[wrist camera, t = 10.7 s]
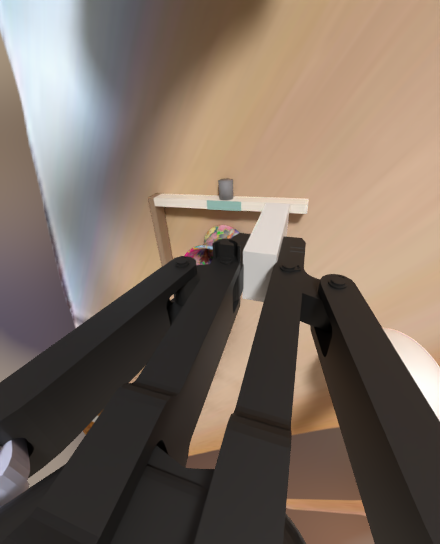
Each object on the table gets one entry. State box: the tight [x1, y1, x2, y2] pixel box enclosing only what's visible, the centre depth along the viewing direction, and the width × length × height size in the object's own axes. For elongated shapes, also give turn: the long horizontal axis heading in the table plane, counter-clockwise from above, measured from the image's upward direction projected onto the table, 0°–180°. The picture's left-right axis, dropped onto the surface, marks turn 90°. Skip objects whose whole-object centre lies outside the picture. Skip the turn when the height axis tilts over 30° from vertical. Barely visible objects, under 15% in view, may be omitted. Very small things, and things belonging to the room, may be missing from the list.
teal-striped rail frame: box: [148, 179, 309, 266], centre depth 49 cm, size 22×28×3 cm
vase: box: [382, 327, 440, 421], centre depth 39 cm, size 17×17×35 cm
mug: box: [185, 225, 239, 265], centre depth 46 cm, size 12×9×11 cm
